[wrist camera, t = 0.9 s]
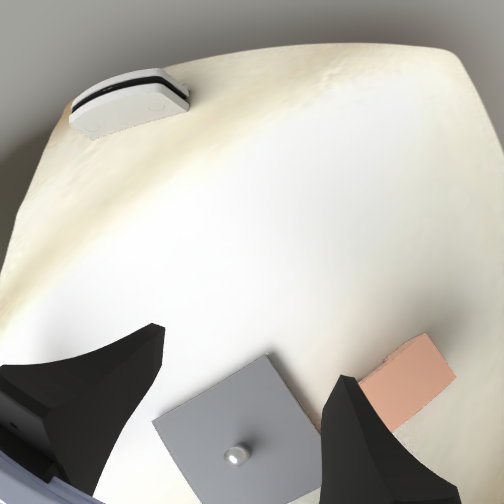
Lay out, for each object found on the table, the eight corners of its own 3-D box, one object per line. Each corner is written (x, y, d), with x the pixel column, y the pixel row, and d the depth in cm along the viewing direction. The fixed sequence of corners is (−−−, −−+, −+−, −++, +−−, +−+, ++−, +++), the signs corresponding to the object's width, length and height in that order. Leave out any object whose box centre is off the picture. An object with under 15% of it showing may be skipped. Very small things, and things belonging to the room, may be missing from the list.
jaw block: (432, 377, 22) (456, 377, 17) (353, 437, 21) (360, 453, 16) (406, 341, 23) (425, 332, 18) (327, 400, 23) (327, 407, 18)
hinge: (193, 88, 41) (162, 51, 31) (193, 116, 40) (160, 82, 31) (99, 118, 44) (59, 94, 34) (97, 144, 44) (54, 123, 34)
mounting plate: (345, 468, 21) (345, 472, 20) (224, 525, 20) (221, 529, 19) (266, 354, 26) (264, 354, 25) (156, 420, 25) (151, 421, 25)
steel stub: (255, 455, 22) (248, 462, 20) (238, 463, 22) (231, 470, 20) (244, 439, 22) (237, 445, 20) (228, 448, 22) (219, 453, 20)
